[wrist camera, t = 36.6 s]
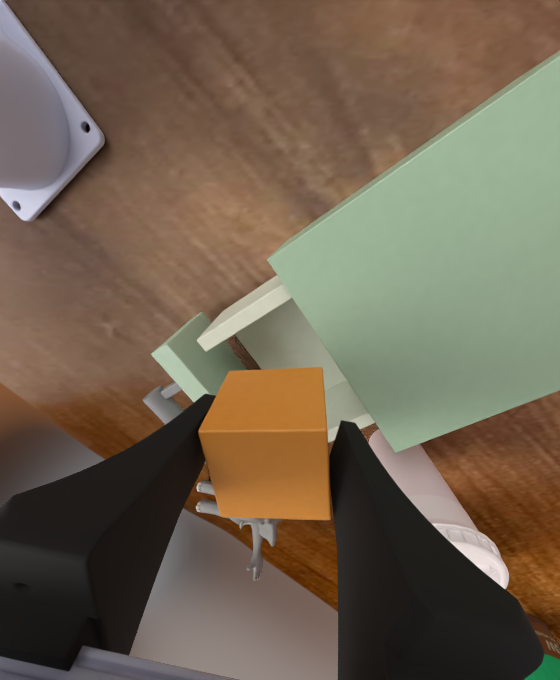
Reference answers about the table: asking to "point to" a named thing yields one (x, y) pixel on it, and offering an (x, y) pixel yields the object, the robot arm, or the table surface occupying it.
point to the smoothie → (439, 504)
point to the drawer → (264, 347)
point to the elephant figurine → (259, 525)
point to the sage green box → (445, 270)
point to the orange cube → (269, 445)
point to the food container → (546, 653)
